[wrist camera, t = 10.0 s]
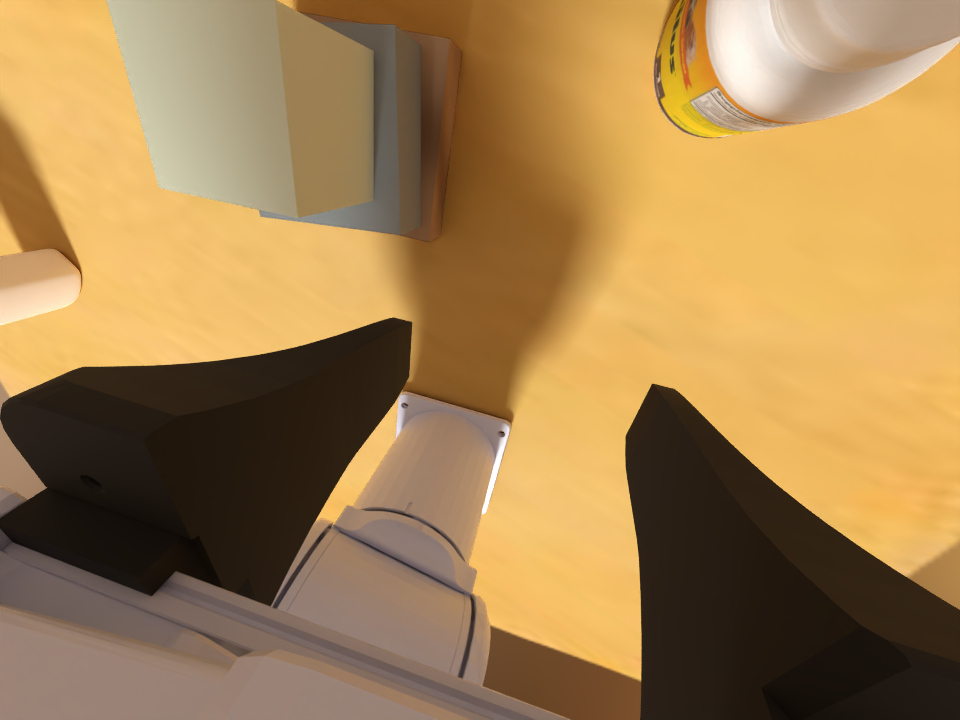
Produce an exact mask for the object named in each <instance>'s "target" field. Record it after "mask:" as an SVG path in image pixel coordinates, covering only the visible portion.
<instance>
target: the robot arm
mask: <svg viewBox="0 0 960 720" xmlns="http://www.w3.org/2000/svg"><path fill="white" fill-rule="evenodd" d="M411 334H412V322H409V321H405V320H401V319H398V318H389V319H385V320H382V321H379V322H376V323H373V324H370V325H367V326H364V327H361V328H358V329H355V330H352V331H349V332H346V333H343V334H340V335H337V336H333V337H330V338H327V339H323V340H320V341H316V342H313V343H310V344H306V345H302V346H299V347H294V348H290V349H286V350H281V351H276V352H271V353H266V354H261V355H255V356H248V357H241V358H233V359H226V360H219V361H211V362H200V363H189V364H174V365H156V366H116V367H81V368H78V369H75V370H72V371H70V372H67V373H65V374H63V375H61V376H58V377H56V378H54V379H52V380H49V381H47V382H45V383H43V384H40V385H38V386H36V387H33V388H31V389H29V390H27V391H24V392H22V393H20V394H18V395H15V396H13V397H11V398H9V399H8V400H7V401H5V402H4V403H3V405H2V408H1V415H0V420H1V422H2V425H3V428H4V430H5V432H6V433H7V435H8V437H9V438H10V439H11V441H12V443H13V444H14V445H15V447H16V448H17V449H18V451H19V452H20V453H21V455H22V456H23V457H24V459H25V460H26V461H27V462H28V464H29V465H30V466H31V468H32V469H33V470H34V472H35V473H36V474H37V475H38V477H39V478H40V480H41V481H42V482H43V483H44V485H45V486H46V487H48V488H46V489H45V490H43V491H41V492H40V493H38V494H37V495H35V496H34V497H32V498H30V499H29V500H27V499H26V498H24V497H23V496H21V495H20V494H19V493H17V492H15V491H13V490H11V489H9V488H6V487H4V486H1V485H0V720H571V719H568V718H565V717H563V716H560V715H557V714H555V713H552V712H549V711H547V710H544V709H541V708H539V707H536V706H533V705H531V704H528V703H525V702H523V701H520V700H517V699H514V698H512V697H509V696H507V695H504V694H501V693H499V692H496V691H493V690H491V689H488V688H486V687H483V686H482V685H483V681H484V676H485V672H486V667H487V661H488V656H489V648H490V623H489V619H488V616H487V610H486V605H485V602H484V600H483V599H482V598H481V597H479V596H478V595H476V594H474V593H472V591H473V587H474V583H475V578H476V574H477V570H476V569H474V568H472V567H471V566H469V561H470V557H471V554H472V550H473V546H474V542H475V538H476V534H477V530H478V526H479V522H480V519H481V515H482V514H484V513H486V511H487V508H488V505H489V501H490V498H491V494H492V491H493V487H494V484H495V481H496V477H497V474H498V470H499V467H500V464H501V460H502V457H503V453H504V450H505V447H506V443H507V440H508V436H509V433H510V429H511V424H510V423H509V422H508V421H507V420H504V419H501V418H497V417H494V416H490V415H487V414H483V413H480V412H476V411H473V410H469V409H466V408H463V407H459V406H456V405H452V404H449V403H445V402H442V401H438V400H435V399H431V398H428V397H424V396H421V395H417V394H414V393H410V392H406V391H405V392H402V393H401V391H402V389H403V387H404V385H405V383H406V382H407V380H408V378H409V369H410V352H411ZM400 393H401V395H400V396H399V394H400ZM398 396H399V402H398V413H397V425H396V437H395V441H394V443H393V444H392V446H391V447H390V449H389V451H388V452H387V454H386V455H385V457H384V458H383V460H382V461H381V463H380V465H379V466H378V468H377V469H376V471H375V472H374V474H373V475H372V477H371V479H370V480H369V482H368V483H367V485H366V486H365V488H364V489H363V491H362V493H361V494H360V496H359V497H358V499H357V500H356V502H355V503H354V505H353V507H352V506H350V505H347V506H346V507H345V509H344V510H343V512H342V513H341V515H340V516H339V518H338V519H337V521H336V522H335V524H334V525H333V522H331V521H329V520H327V519H325V518H321V519H319V520H317V521H316V519H317V517H318V515H319V514H320V512H321V510H322V508H323V507H324V505H325V503H326V501H327V499H328V498H329V496H330V494H331V493H332V491H333V489H334V488H335V486H336V484H337V483H338V481H339V479H340V478H341V476H342V474H343V473H344V471H345V469H346V468H347V466H348V465H349V463H350V462H351V460H352V459H353V457H354V456H355V454H356V453H357V452H358V450H359V449H360V448H361V447H362V445H363V444H364V443H365V441H366V440H367V439H368V437H369V436H370V435H371V433H372V432H373V431H374V429H375V428H376V427H377V426H378V424H379V423H380V422H381V420H382V419H383V418H384V416H385V415H386V414H387V412H388V411H389V410H390V408H391V407H392V406H393V404H394V403H395V401H396V400H397V398H398ZM404 403H406V404H407V405H408V406H406V405H405V404H404ZM499 431H503V432H504V434H502V433H500V432H499ZM625 456H626V473H627V480H628V486H629V493H630V499H631V505H632V512H633V518H634V524H635V531H636V537H637V544H638V553H639V568H640V590H641V629H642V673H641V717H640V720H960V610H959V609H957V608H956V607H954V606H952V605H950V604H949V603H947V602H946V601H944V600H942V599H941V598H939V597H937V596H936V595H934V594H932V593H931V592H929V591H927V590H926V589H924V588H923V587H921V586H919V585H918V584H917V583H915V582H913V581H912V580H910V579H909V578H907V577H905V576H904V575H902V574H901V573H899V572H897V571H896V570H894V569H893V568H891V567H890V566H888V565H887V564H885V563H884V562H882V561H881V560H879V559H878V558H876V557H874V556H873V555H871V554H870V553H868V552H867V551H865V550H864V549H862V548H861V547H860V546H858V545H857V544H855V543H854V542H852V541H851V540H850V539H848V538H847V537H845V536H844V535H843V534H841V533H840V532H838V531H837V530H835V529H834V528H833V527H831V526H830V525H828V524H827V523H825V522H824V521H823V520H821V519H820V518H819V517H817V516H816V515H815V514H813V513H812V512H811V511H809V510H808V509H807V508H805V507H804V506H803V505H802V504H800V503H799V502H798V501H797V500H795V499H794V498H793V497H792V496H790V495H789V494H788V493H786V492H785V491H784V490H783V489H781V488H780V487H779V486H778V485H776V484H775V483H774V482H773V481H772V480H771V479H769V478H768V477H767V476H766V475H765V474H764V473H762V472H761V471H760V470H759V469H758V468H757V467H756V466H755V465H754V464H752V463H751V462H750V461H749V460H748V459H747V458H746V457H745V456H744V455H742V454H741V453H740V452H739V451H738V450H737V449H736V448H735V447H734V446H733V445H732V444H731V443H730V442H729V441H728V440H727V439H726V438H725V437H724V436H723V435H722V434H721V433H720V432H719V431H718V430H717V429H716V428H715V427H714V426H713V425H712V424H711V423H710V422H709V421H708V420H707V419H706V418H705V417H704V416H703V415H702V414H701V413H700V412H699V411H698V410H697V409H696V408H695V407H694V406H693V405H692V404H691V403H690V402H689V401H688V400H687V399H686V398H684V397H683V396H682V395H681V394H680V393H679V392H678V391H676V390H675V389H672V388H668V387H664V386H660V385H656V384H652V385H651V387H650V389H649V391H648V393H647V395H646V397H645V399H644V401H643V403H642V405H641V407H640V409H639V411H638V413H637V415H636V417H635V419H634V421H633V423H632V425H631V427H630V429H629V431H628V433H627V435H626V448H625ZM315 521H316V522H315Z"/></svg>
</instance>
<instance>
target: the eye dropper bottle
mask: <svg viewBox="0 0 960 720" xmlns="http://www.w3.org/2000/svg"><path fill="white" fill-rule="evenodd" d="M80 290H81V275H80V272H79V270H78V269H77V268H76V267H75V266H74V265H73V264H72V263H71V262H70V261H69V260H68V259H67V258H66V257H65V256H64V255H63V254H62V253H60V252H59V251H57V250H56V249H43V250H36V251H30V252H23V253H17V254H11V255H4V256H0V325H4V324H7V323H11V322H14V321H18V320H22V319H25V318H29V317H32V316H36V315H40V314H43V313H47V312H50V311H54V310H57V309H61V308H64V307H66V306H68V305H70V304H72V303H73V302H74V301H75V300H76V299H77V298H78V296H79V293H80Z"/></svg>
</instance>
